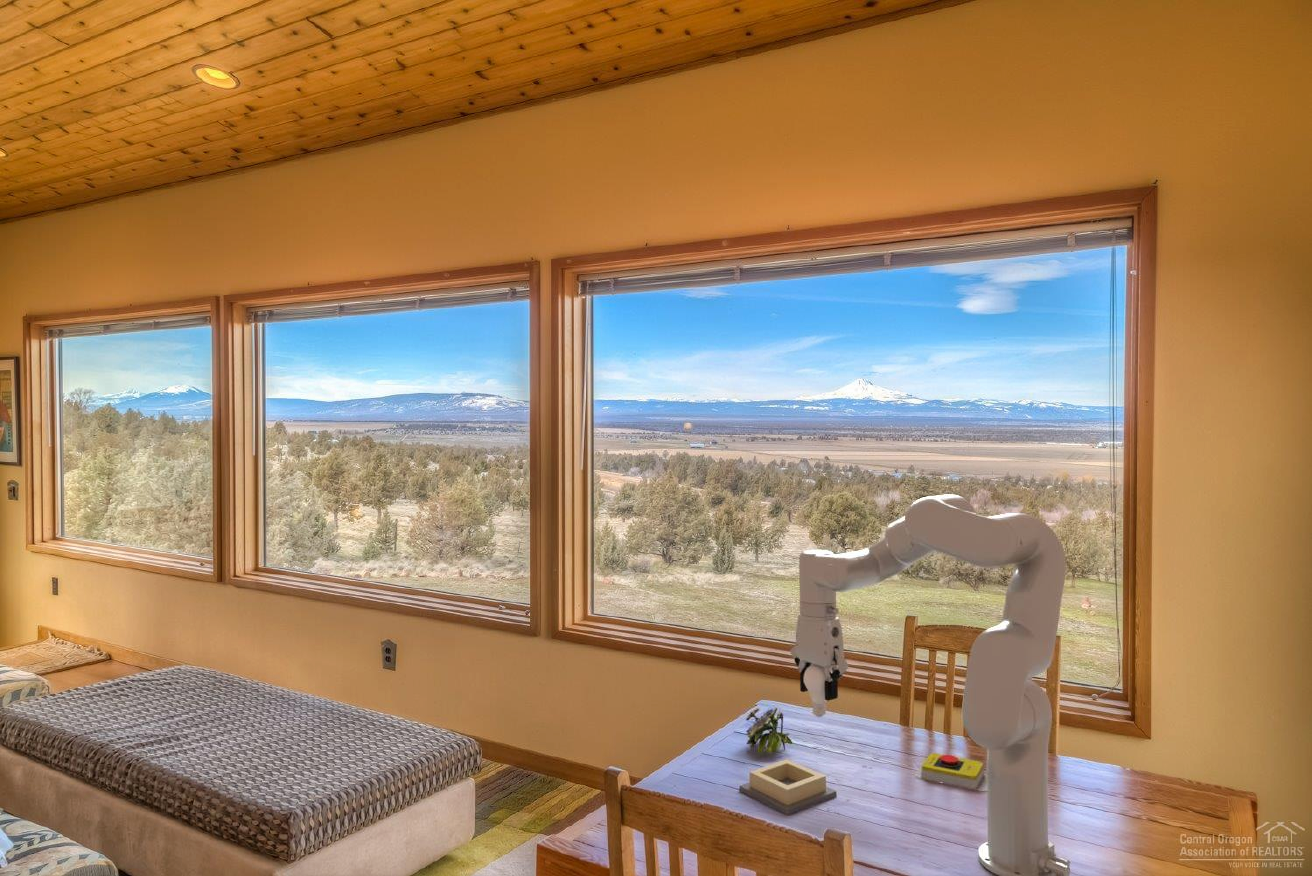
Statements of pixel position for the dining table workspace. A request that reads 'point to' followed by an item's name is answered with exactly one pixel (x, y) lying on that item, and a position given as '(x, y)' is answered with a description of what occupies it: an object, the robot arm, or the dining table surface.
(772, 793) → the socket block
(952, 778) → the emergency button
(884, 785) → the dining table surface
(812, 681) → the lightbulb
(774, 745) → the green leafy plant
